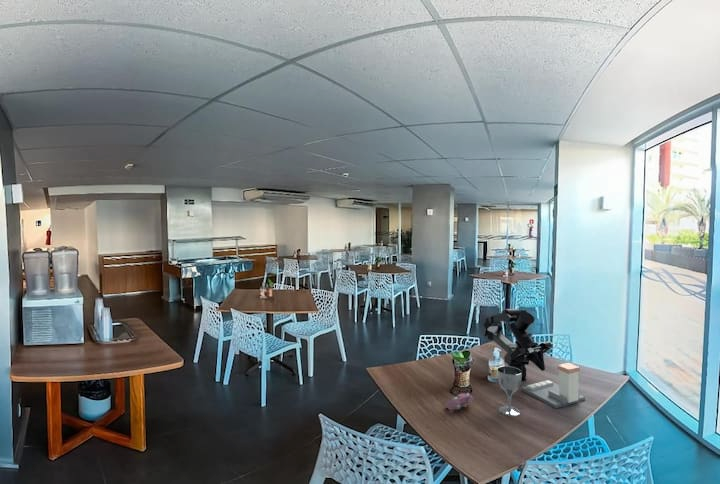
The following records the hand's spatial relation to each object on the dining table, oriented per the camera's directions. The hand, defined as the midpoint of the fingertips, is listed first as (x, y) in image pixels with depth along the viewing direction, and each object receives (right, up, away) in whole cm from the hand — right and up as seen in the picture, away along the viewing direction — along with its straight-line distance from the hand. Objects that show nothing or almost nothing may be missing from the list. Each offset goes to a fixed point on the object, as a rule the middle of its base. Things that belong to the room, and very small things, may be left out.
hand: (543, 370), depth 143 cm
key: (+4, -7, -10) cm, 13 cm away
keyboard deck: (+2, -9, -3) cm, 9 cm away
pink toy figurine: (-36, -10, -11) cm, 40 cm away
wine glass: (-19, -10, -14) cm, 26 cm away
